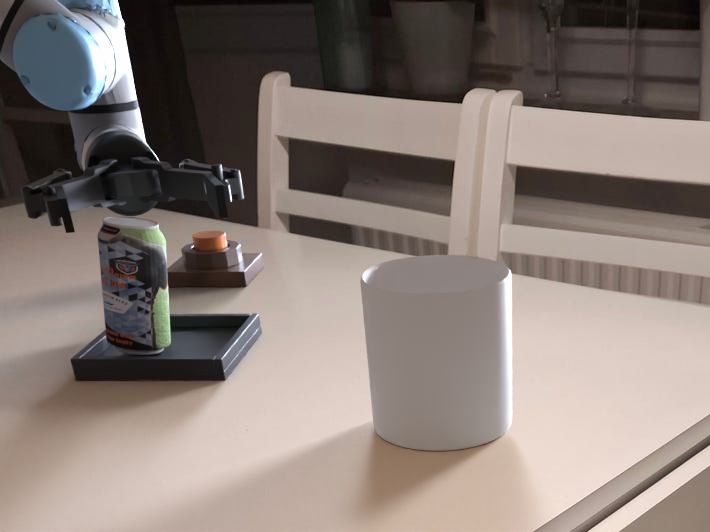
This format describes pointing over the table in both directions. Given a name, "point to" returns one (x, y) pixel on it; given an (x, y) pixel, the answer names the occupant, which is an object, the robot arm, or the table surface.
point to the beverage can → (134, 285)
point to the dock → (176, 351)
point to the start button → (209, 241)
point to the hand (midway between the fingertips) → (145, 208)
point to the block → (214, 267)
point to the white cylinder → (439, 350)
